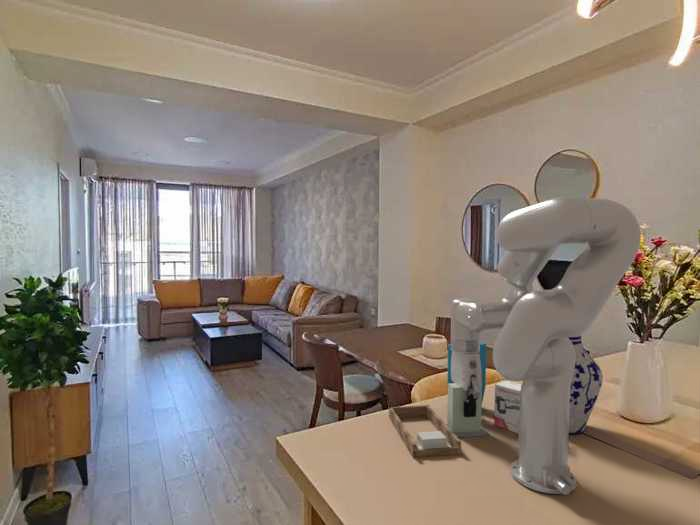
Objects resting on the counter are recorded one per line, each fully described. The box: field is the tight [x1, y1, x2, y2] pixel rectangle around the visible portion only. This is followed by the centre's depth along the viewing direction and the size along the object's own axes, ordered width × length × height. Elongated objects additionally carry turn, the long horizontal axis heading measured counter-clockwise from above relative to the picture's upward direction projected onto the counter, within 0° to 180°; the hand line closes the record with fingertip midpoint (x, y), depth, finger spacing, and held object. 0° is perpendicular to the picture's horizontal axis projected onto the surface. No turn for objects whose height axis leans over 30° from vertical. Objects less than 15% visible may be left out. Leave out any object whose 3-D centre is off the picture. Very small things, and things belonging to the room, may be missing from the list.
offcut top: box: [416, 430, 446, 448], centre depth 100 cm, size 4×6×2 cm, turn 98°
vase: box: [569, 334, 604, 436], centre depth 113 cm, size 19×19×30 cm
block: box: [446, 341, 487, 407], centre depth 125 cm, size 12×5×20 cm, turn 119°
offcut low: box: [412, 438, 451, 449], centre depth 100 cm, size 5×8×2 cm, turn 98°
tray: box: [388, 404, 462, 458], centre depth 108 cm, size 23×12×3 cm, turn 9°
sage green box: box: [446, 383, 483, 433], centre depth 110 cm, size 4×8×12 cm, turn 98°
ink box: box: [493, 380, 522, 434], centre depth 112 cm, size 8×5×12 cm, turn 43°
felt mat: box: [445, 423, 491, 439], centre depth 110 cm, size 8×11×1 cm
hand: (464, 410), depth 110 cm, fingers open, 6 cm apart
